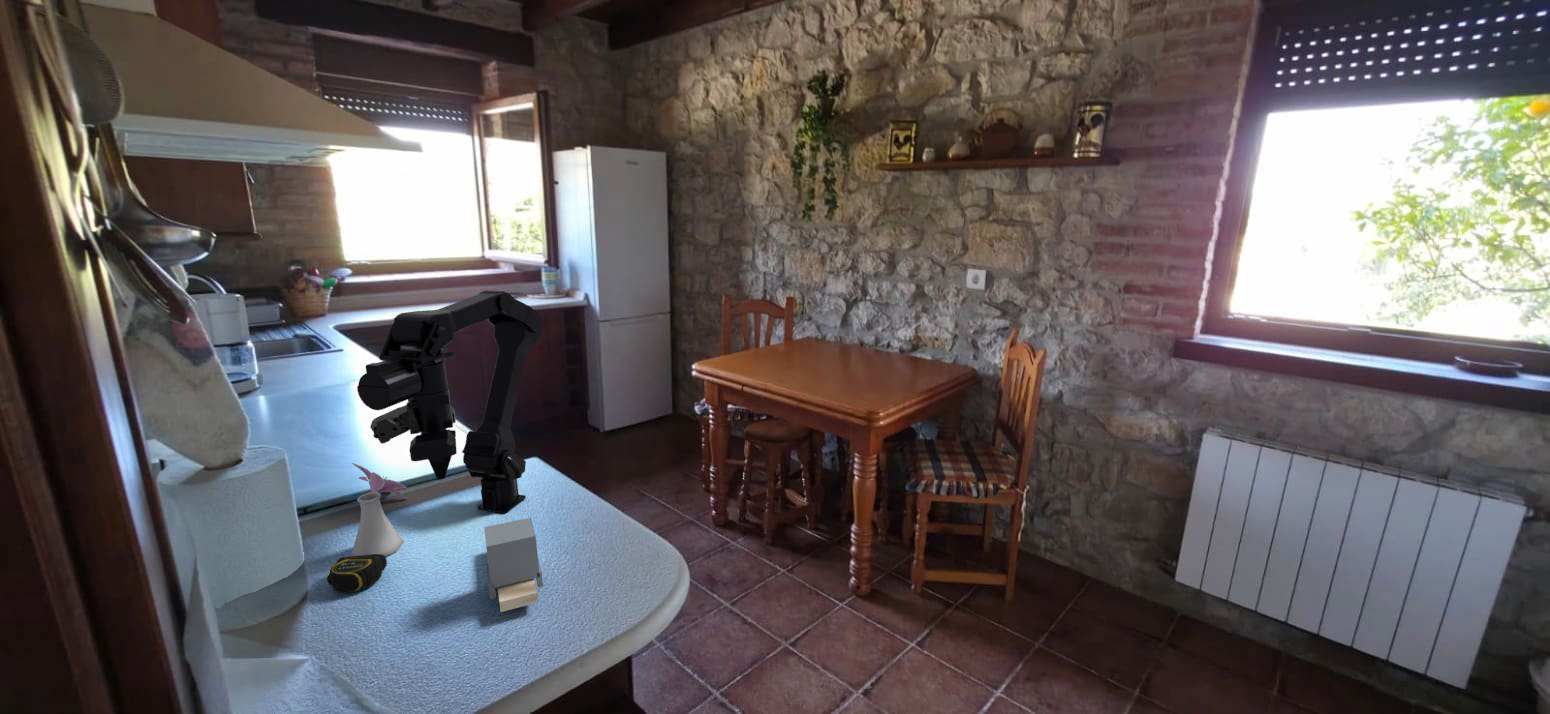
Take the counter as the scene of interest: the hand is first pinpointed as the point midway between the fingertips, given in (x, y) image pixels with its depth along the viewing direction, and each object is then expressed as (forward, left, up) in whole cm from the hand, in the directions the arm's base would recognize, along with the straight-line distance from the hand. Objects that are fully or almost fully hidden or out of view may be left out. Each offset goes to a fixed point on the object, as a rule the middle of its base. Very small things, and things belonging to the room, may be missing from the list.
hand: (441, 478), depth 107 cm
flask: (+5, -10, -12) cm, 17 cm away
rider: (+9, +20, -10) cm, 24 cm away
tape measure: (+13, -6, -12) cm, 19 cm away
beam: (+7, +17, -12) cm, 22 cm away
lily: (-9, -22, -12) cm, 27 cm away
